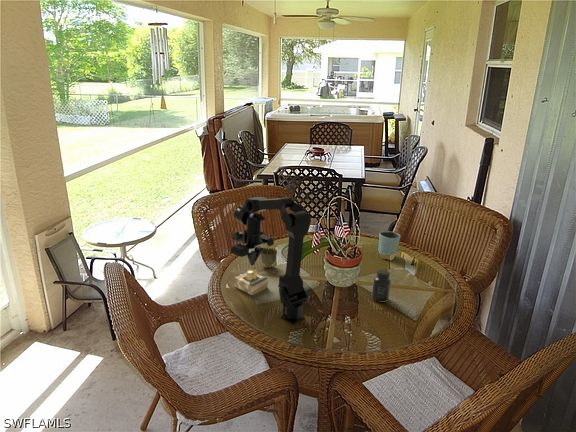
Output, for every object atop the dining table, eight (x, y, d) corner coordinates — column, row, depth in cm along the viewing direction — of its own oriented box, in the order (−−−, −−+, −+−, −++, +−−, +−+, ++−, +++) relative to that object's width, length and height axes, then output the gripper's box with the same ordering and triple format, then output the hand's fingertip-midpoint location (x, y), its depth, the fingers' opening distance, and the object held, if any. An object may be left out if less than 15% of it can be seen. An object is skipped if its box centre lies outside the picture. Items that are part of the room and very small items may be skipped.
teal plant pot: (376, 259, 206) (379, 236, 202) (375, 251, 215) (379, 229, 211) (397, 262, 205) (401, 239, 201) (395, 253, 214) (399, 232, 210)
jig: (267, 287, 171) (268, 277, 170) (252, 295, 164) (252, 284, 163) (250, 279, 177) (250, 269, 175) (234, 286, 170) (234, 275, 169)
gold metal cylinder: (258, 287, 171) (258, 271, 169) (251, 290, 168) (251, 274, 166) (251, 283, 173) (251, 268, 171) (244, 287, 170) (244, 271, 168)
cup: (274, 271, 185) (275, 255, 183) (258, 269, 187) (258, 252, 184) (277, 264, 192) (278, 248, 190) (262, 262, 194) (263, 246, 191)
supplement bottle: (391, 299, 169) (395, 272, 165) (382, 305, 164) (386, 277, 161) (376, 292, 174) (380, 266, 170) (367, 298, 169) (371, 271, 165)
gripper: (255, 218, 174) (254, 252, 179) (221, 228, 160) (221, 265, 165) (275, 225, 168) (273, 260, 173) (242, 236, 154) (240, 274, 159)
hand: (252, 265), depth 168 cm, fingers closed
